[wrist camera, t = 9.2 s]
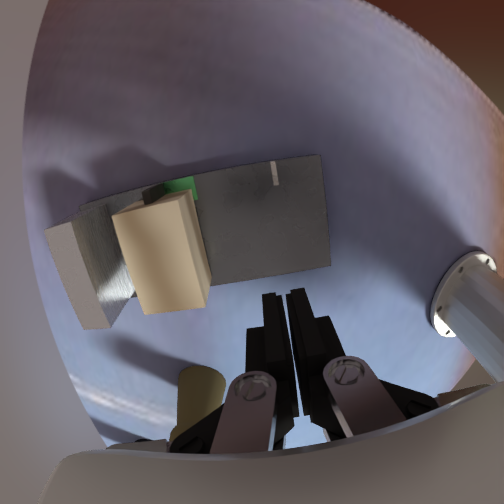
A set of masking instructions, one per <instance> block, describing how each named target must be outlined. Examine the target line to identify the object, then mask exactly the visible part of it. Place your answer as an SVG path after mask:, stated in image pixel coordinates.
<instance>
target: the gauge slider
mask: <svg viewBox="0 0 504 504" xmlns="http://www.w3.org/2000/svg"><path fill="white" fill-rule="evenodd" d="M142 197H143V200H140V201H136V202H134V203H133V204H131V205H129V206H127V207H126V208H124V209H122V210H121V211H119V212H117V213H116V214H114V215H112V219H113V223H114V227H115V230H116V233H117V237H118V240H119V243H120V247H121V250H122V253H123V256H124V259H125V262H126V265H127V268H128V271H129V274H130V277H131V280H132V283H133V285H134V288H135V291H136V294H137V296H138V299H139V302H140V304H141V307H142V309H143V312H144V314H145V315H147V314H155V313H164V312H172V311H180V310H188V309H195V308H202V307H206V302H207V297H208V293H209V288H210V283H211V279H212V276H211V272H210V268H209V264H208V260H207V256H206V252H205V248H204V243H203V239H202V235H201V231H200V226H199V222H198V217H197V213H196V208H195V204H194V199H193V195H192V190H191V189H188V190H183V191H179V192H174V193H170V194H165V191H164V187H163V183H161V184H157V185H154V186H152V187H150V188H148V189H146V190H144V191H142Z"/></svg>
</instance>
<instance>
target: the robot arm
mask: <svg viewBox="0 0 504 504" xmlns="http://www.w3.org/2000/svg"><path fill="white" fill-rule="evenodd" d="M290 291H291V293H290V294H286V301H287V309H288V317H289V325H290V333H291V341H292V349H293V355H294V361H295V366H296V372H297V378H298V383H299V389H300V395H301V401H302V407H303V413H304V416H306V415H310V419H311V423H314V424H316V425H318V426H320V427H322V428H323V432H324V435H325V438H326V440H327V442H326V443H320V444H315V445H309V446H303V447H297V448H290V449H285V445H286V434H287V433H288V432H289V431H290V430H291V429H292V428H293V427H294V419H293V418H294V417H299V408H298V398H297V389H296V380H295V371H294V362H293V355H292V349H291V344H290V338H289V333H288V327H287V322H286V316H285V311H284V306H283V300H282V295H278V296H276V292H274V293H267V294H262V302H263V318H264V326H262V327H255V328H248V329H247V332H246V368H245V373H243V374H241V375H239V376H238V377H236V378H235V379H234V380H233V381H232V382H231V384H230V386H229V389H228V393H227V396H226V400H225V403H224V404H222V405H221V406H220V407H218V408H217V409H215V410H214V411H213V412H211V413H210V414H209V415H207V416H206V417H204V418H203V419H202V420H200V421H199V422H197V423H196V424H195V425H193V426H192V427H190V428H189V429H187V430H186V431H184V432H183V433H181V434H180V435H179V436H177V437H176V438H175V439H174V440H173V441H169V442H168V441H167V440H166V439H162V440H154V441H145V442H135V443H122V444H114V445H111V446H109V447H108V448H106V449H104V450H103V449H102V450H91V451H84V452H80V453H76V454H73V455H70V456H67V457H66V458H64V459H63V460H62V461H61V462H60V463H59V464H58V465H57V466H56V467H55V469H54V471H53V472H52V474H51V475H50V477H49V479H48V481H47V483H46V485H45V487H44V489H43V491H42V494H41V496H40V499H39V501H38V504H504V279H503V278H502V277H501V276H499V275H498V274H497V271H496V265H495V263H494V260H493V259H492V258H491V257H490V256H489V255H487V254H486V253H484V252H481V251H474V252H470V253H468V254H466V255H464V256H463V257H461V258H460V259H459V260H457V261H456V262H455V263H454V264H453V265H452V266H451V267H450V269H449V270H448V271H447V273H446V274H445V275H444V277H443V279H442V280H441V282H440V284H439V286H438V288H437V290H436V292H435V295H434V298H433V301H432V305H431V313H430V317H431V323H432V326H433V328H434V329H435V330H436V331H437V333H439V334H440V335H441V336H444V337H453V336H457V337H458V338H459V339H460V341H461V342H462V343H463V344H464V345H465V346H466V347H467V348H468V350H469V351H470V352H471V353H472V354H473V355H474V357H475V358H476V359H477V360H478V361H479V362H480V364H481V365H482V366H483V367H484V368H485V369H486V371H487V372H488V373H489V374H490V376H491V377H492V378H493V379H494V381H495V382H496V383H495V384H493V385H489V384H480V385H476V386H472V387H468V388H464V389H459V390H456V391H450V392H445V393H440V394H438V395H437V397H435V398H432V397H431V396H429V395H427V394H424V393H421V392H417V391H414V390H411V389H407V388H404V387H401V386H398V385H395V384H392V383H389V382H386V381H383V380H380V379H378V378H377V376H376V375H375V374H374V372H373V371H372V369H371V368H370V367H369V365H368V364H367V363H366V362H365V361H364V360H362V359H360V358H358V357H354V356H346V355H345V353H344V350H343V348H342V345H341V343H340V340H339V338H338V336H337V333H336V331H335V328H334V326H333V324H332V321H331V319H330V317H329V316H323V317H318V318H315V317H314V315H313V312H312V309H311V306H310V303H309V300H308V297H307V294H306V292H305V289H304V288H299V289H293V290H290Z"/></svg>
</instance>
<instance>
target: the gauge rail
mask: <svg viewBox="0 0 504 504" xmlns="http://www.w3.org/2000/svg"><path fill="white" fill-rule="evenodd" d="M161 183H163V187H164V191H165V194H170V193H174V192H179V191H183V190H188V189H191V190H192V195H193V199H194V204H195V208H196V213H197V217H198V222H199V226H200V231H201V235H202V239H203V243H204V248H205V252H206V256H207V260H208V264H209V268H210V272H211V276H212V279H211V283H210V286H215V285H221V284H228V283H234V282H240V281H246V280H252V279H258V278H264V277H270V276H276V275H282V274H287V273H293V272H299V271H304V270H310V269H315V268H321V267H326V266H331V258H330V243H329V230H328V219H327V208H326V198H325V189H324V181H323V172H322V165H321V157H320V155H307V156H299V157H291V158H284V159H277V160H270V161H264V162H257V163H251V164H245V165H240V166H234V167H229V168H223V169H218V170H213V171H208V172H203V173H198V174H194V175H189V176H185V177H180V178H176V179H172V180H167V181H163V182H159V183H155V184H151V185H147V186H143V187H139V188H136V189H132V190H128V191H125V192H121V193H118V194H114V195H111V196H107V197H104V198H101V199H97V200H94V201H91V202H88V203H85V204H83V205H81V206H79V208H80V212H78V213H76V214H74V215H72V216H70V217H68V218H66V219H64V220H62V221H60V222H58V223H56V224H54V225H53V226H51V227H49V228H47V229H45V230H44V232H45V235H46V239H47V242H48V245H49V248H50V251H51V254H52V257H53V259H54V262H55V265H56V268H57V270H58V273H59V275H60V278H61V280H62V283H63V285H64V288H65V290H66V293H67V295H68V297H69V299H70V302H71V304H72V306H73V308H74V311H75V313H76V315H77V317H78V319H79V321H80V323H81V325H82V327H83V329H84V330H87V329H103V328H111V327H112V325H113V324H114V322H115V321H116V319H117V317H118V316H119V314H120V313H121V311H122V310H123V308H124V306H125V305H126V303H127V302H128V300H129V299H130V298H132V297H138V296H137V294H136V291H135V288H134V285H133V283H132V280H131V277H130V274H129V271H128V268H127V265H126V262H125V259H124V256H123V253H122V250H121V247H120V243H119V240H118V237H117V233H116V230H115V227H114V223H113V219H112V215H114V214H116V213H117V212H119V211H121V210H122V209H124V208H126V207H127V206H129V205H131V204H133V203H134V202H136V201H140V200H143V197H142V191H144V190H146V189H148V188H150V187H152V186H154V185H157V184H161Z"/></svg>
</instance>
